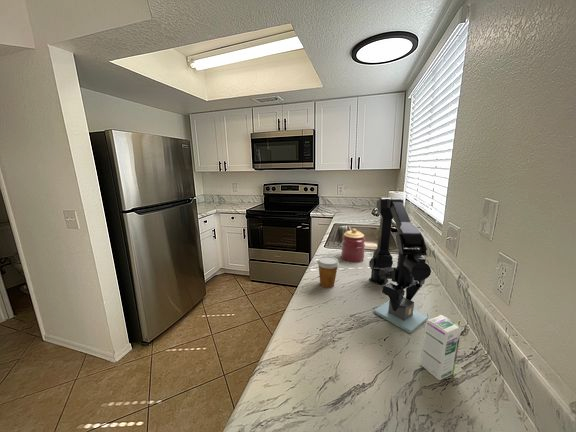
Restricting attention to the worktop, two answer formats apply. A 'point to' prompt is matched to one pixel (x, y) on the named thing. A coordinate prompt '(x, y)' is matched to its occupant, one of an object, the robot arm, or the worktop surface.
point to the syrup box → (440, 346)
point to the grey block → (403, 309)
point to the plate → (407, 325)
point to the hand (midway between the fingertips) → (401, 305)
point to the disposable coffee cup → (327, 270)
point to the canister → (353, 246)
